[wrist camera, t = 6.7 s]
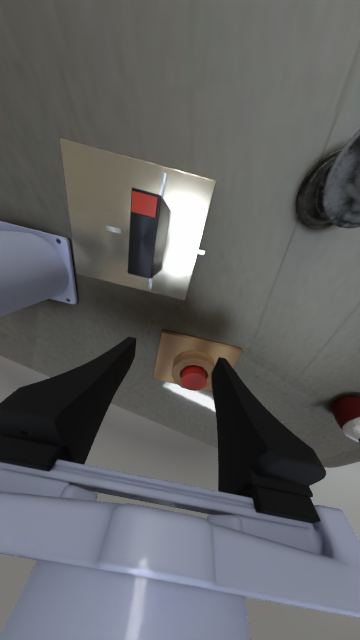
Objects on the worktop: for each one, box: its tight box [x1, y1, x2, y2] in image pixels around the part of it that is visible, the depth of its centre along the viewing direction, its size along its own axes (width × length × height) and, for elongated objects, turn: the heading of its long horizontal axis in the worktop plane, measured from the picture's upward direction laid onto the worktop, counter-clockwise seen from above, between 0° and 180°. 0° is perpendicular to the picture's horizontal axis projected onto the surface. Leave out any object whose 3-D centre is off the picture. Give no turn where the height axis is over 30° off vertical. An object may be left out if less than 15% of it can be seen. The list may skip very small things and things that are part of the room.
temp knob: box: [128, 187, 171, 279], centre depth 11 cm, size 5×2×4 cm, turn 167°
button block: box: [153, 330, 243, 392], centre depth 22 cm, size 12×10×2 cm
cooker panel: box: [60, 138, 216, 300], centre depth 14 cm, size 13×10×3 cm
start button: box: [181, 365, 207, 391], centre depth 21 cm, size 4×4×2 cm
